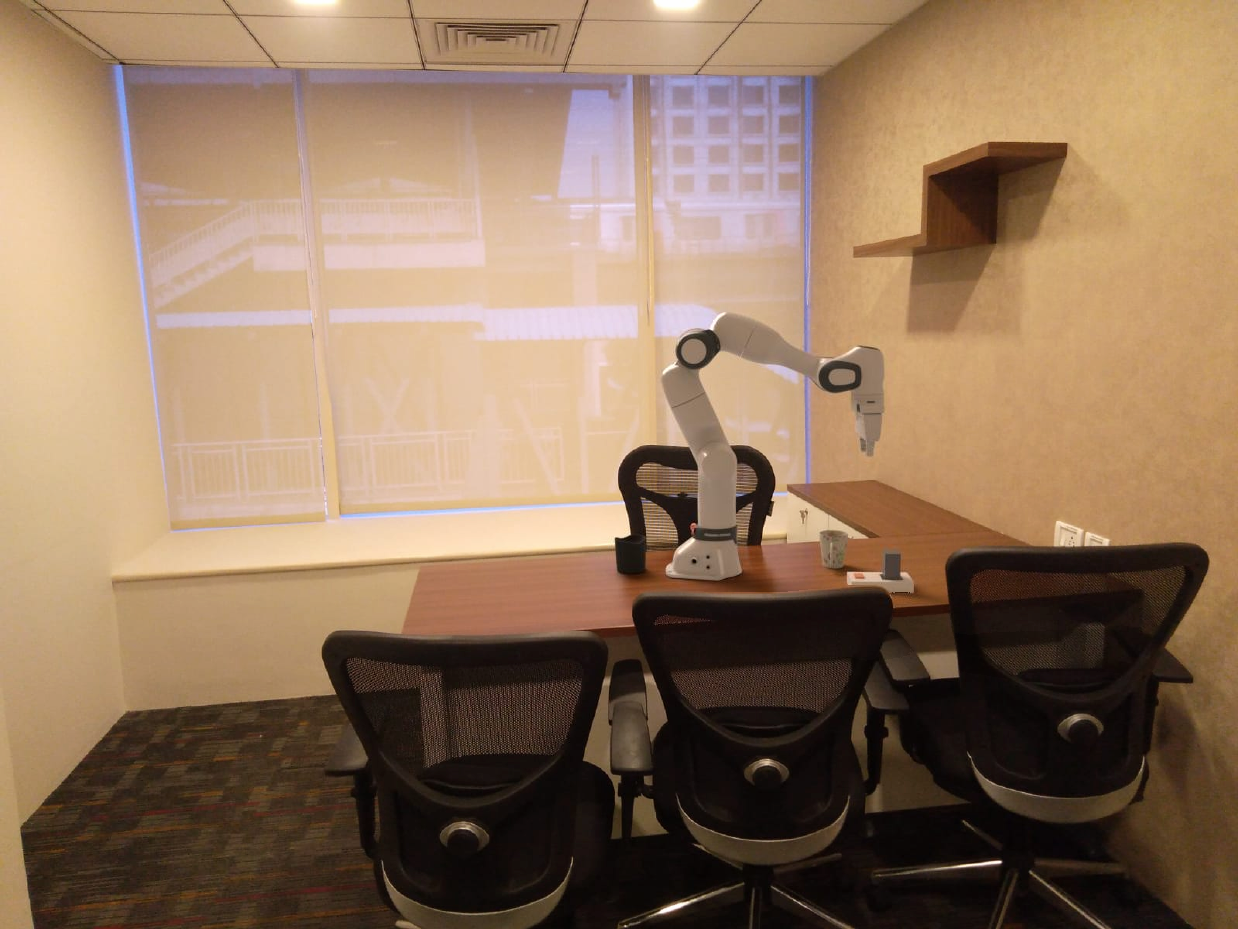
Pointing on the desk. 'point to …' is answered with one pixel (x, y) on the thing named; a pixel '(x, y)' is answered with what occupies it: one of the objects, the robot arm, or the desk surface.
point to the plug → (891, 565)
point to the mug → (833, 548)
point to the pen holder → (630, 554)
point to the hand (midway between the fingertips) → (866, 453)
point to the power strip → (882, 581)
